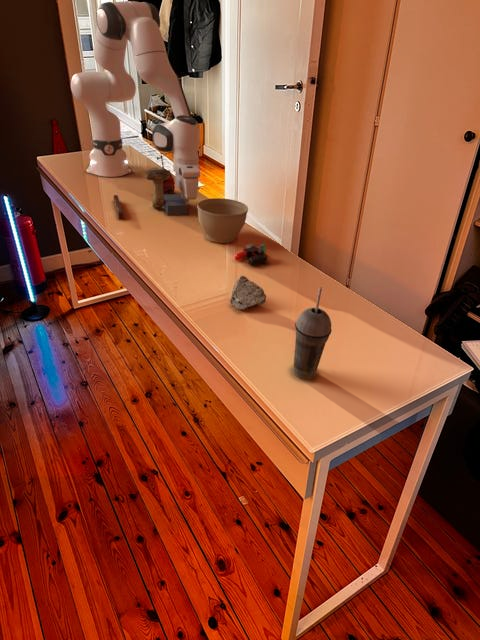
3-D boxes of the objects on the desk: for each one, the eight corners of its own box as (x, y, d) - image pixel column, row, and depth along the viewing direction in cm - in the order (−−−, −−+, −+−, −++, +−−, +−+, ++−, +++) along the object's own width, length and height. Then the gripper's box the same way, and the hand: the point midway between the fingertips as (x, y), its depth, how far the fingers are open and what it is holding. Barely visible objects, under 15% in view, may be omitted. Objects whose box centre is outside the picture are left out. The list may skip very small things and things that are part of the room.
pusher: (161, 203, 179) (161, 194, 177) (179, 203, 181) (179, 194, 179) (167, 215, 170) (167, 205, 168) (186, 214, 172) (186, 205, 170)
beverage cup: (285, 380, 98) (300, 296, 87) (288, 359, 104) (302, 278, 93) (321, 386, 97) (340, 302, 86) (321, 365, 103) (339, 284, 92)
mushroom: (156, 215, 169) (155, 172, 161) (140, 208, 173) (139, 166, 165) (175, 209, 175) (176, 168, 167) (160, 203, 180) (160, 162, 171)
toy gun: (252, 248, 152) (253, 234, 149) (270, 264, 143) (272, 249, 141) (224, 252, 148) (226, 237, 145) (242, 268, 139) (243, 253, 136)
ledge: (113, 201, 177) (113, 195, 175) (117, 201, 177) (117, 195, 176) (118, 219, 162) (118, 212, 161) (123, 219, 163) (123, 212, 162)
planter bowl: (254, 237, 159) (257, 206, 153) (226, 252, 148) (229, 219, 142) (215, 224, 166) (217, 194, 160) (186, 237, 154) (186, 205, 149)
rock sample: (217, 293, 118) (241, 267, 118) (220, 298, 125) (242, 274, 126) (248, 320, 117) (272, 294, 117) (249, 324, 124) (272, 299, 125)
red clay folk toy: (161, 196, 186) (161, 157, 178) (152, 191, 190) (151, 152, 182) (177, 194, 190) (178, 155, 182) (168, 189, 194) (168, 151, 186)
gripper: (171, 158, 176) (171, 195, 183) (183, 174, 160) (183, 213, 167) (187, 158, 178) (187, 194, 185) (201, 173, 162) (200, 212, 169)
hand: (185, 203), depth 176 cm, fingers closed, pressing on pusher
